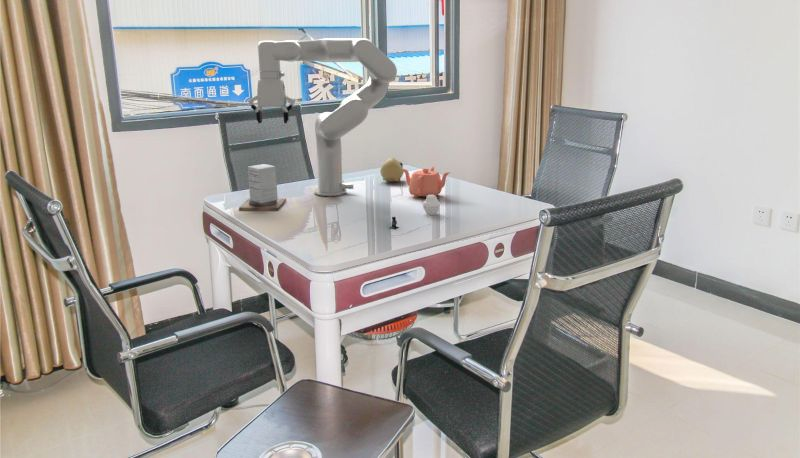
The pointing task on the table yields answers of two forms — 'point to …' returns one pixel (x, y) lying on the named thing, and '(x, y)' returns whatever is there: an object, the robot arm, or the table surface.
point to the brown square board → (263, 205)
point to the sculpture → (393, 224)
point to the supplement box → (262, 183)
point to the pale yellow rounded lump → (392, 170)
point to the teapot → (425, 182)
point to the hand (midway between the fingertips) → (272, 122)
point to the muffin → (431, 205)
